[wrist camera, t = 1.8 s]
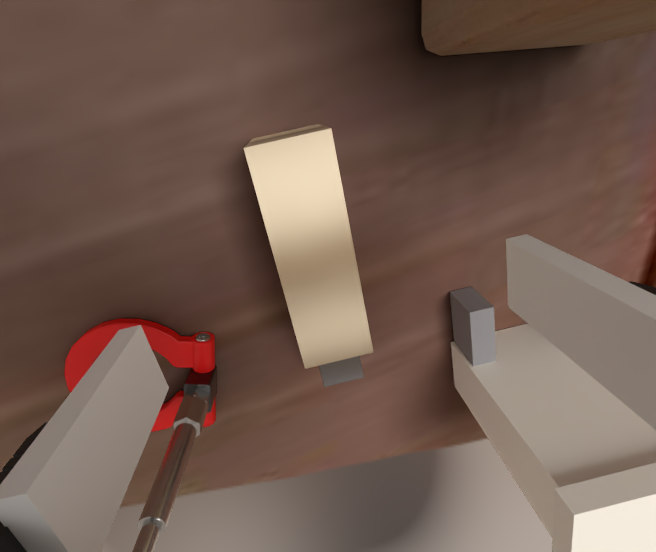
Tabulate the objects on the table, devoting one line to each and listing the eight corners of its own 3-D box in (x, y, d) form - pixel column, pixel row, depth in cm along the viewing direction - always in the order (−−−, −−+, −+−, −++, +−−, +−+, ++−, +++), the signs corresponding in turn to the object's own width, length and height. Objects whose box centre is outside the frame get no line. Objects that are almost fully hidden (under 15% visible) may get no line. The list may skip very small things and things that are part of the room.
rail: (252, 138, 21) (243, 147, 16) (317, 124, 21) (331, 127, 16) (309, 351, 27) (317, 413, 21) (360, 339, 27) (381, 397, 21)
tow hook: (82, 419, 27) (219, 422, 28) (-84, 653, 15) (161, 645, 16) (64, 311, 24) (218, 318, 25) (-162, 499, 12) (146, 500, 13)
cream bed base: (440, 293, 26) (579, 449, 14) (566, 263, 27) (808, 391, 14) (449, 391, 30) (568, 585, 18) (562, 364, 30) (755, 536, 18)
